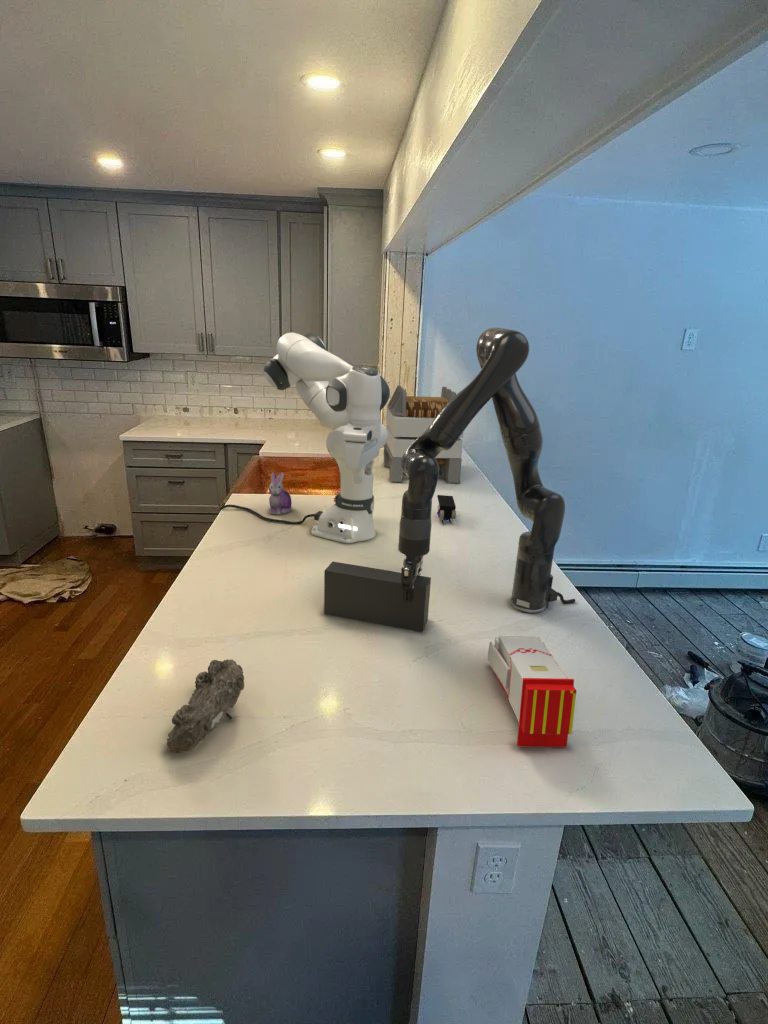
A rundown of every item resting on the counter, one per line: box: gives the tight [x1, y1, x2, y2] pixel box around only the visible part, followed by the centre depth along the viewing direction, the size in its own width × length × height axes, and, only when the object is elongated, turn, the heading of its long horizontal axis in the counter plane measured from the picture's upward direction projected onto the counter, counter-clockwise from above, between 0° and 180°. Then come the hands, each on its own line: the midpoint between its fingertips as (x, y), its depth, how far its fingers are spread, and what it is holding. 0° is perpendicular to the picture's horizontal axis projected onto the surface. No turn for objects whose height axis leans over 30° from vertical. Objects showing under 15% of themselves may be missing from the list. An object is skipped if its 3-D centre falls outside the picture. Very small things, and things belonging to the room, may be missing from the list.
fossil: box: [166, 658, 245, 754], centre depth 106 cm, size 22×10×15 cm
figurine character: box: [436, 494, 457, 524], centre depth 215 cm, size 7×8×15 cm
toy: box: [486, 635, 577, 748], centre depth 115 cm, size 12×13×30 cm
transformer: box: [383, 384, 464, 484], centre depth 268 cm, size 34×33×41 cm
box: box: [323, 561, 432, 633], centre depth 143 cm, size 26×6×12 cm, turn 74°
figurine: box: [268, 471, 293, 515], centre depth 214 cm, size 9×10×15 cm
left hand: (363, 478), depth 156 cm, fingers open, 8 cm apart
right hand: (410, 595), depth 141 cm, fingers closed on box, 5 cm apart
